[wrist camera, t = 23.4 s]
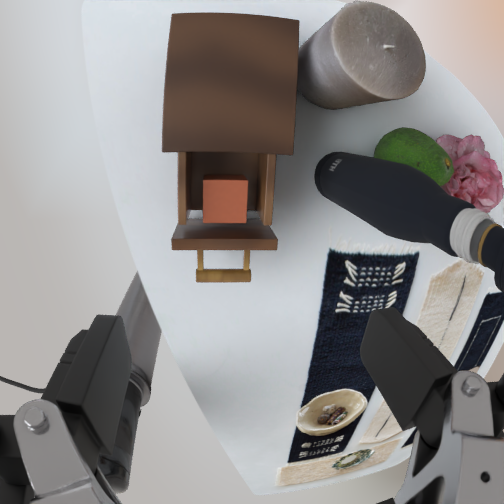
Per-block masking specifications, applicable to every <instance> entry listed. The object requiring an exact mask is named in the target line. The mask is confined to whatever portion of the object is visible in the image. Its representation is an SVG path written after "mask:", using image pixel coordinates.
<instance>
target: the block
mask: <svg viewBox="0 0 504 504" xmlns="http://www.w3.org/2000/svg"><path fill="white" fill-rule="evenodd" d="M247 198H248V180H247V179H246V177H245V176H244V175H205V176H204V179H203V223H246V221H247Z"/></svg>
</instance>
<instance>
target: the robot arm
mask: <svg viewBox="0 0 504 504" xmlns="http://www.w3.org/2000/svg"><path fill="white" fill-rule="evenodd" d="M360 356H361V360H362V362H363V364H364V366H365V367H366V369H367V371H368V372H369V374H370V376H371V377H372V379H373V381H374V382H375V384H376V386H377V387H378V389H379V391H380V393H381V394H382V396H383V398H384V399H385V401H386V403H387V404H388V406H389V408H390V410H391V411H392V413H393V415H394V416H395V418H396V420H397V422H398V423H399V425H400V427H401V429H402V430H403V431H405V430H407V429H410V428H413V427H417V429H418V431H417V433H416V434H415V437H414V441H413V447H412V451H411V456H410V461H409V465H408V469H407V473H406V477H405V480H404V483H403V485H402V487H401V489H400V490H399V492H398V493H397V495H396V496H395V498H394V499H393V498H390V499H388V500H385V501H382V502H380V503H377V504H504V432H503V431H502V430H503V429H504V374H503V375H502V377H501V379H500V380H499V382H488V383H487V382H486V381H485V380H484V379H483V378H482V377H481V376H480V375H478V374H476V373H474V372H471V371H459V372H458V371H457V370H456V369H455V368H454V367H453V365H452V364H451V363H450V362H449V361H448V360H447V359H446V357H445V356H444V355H443V354H442V353H441V352H440V351H439V350H438V348H437V347H436V346H433V343H432V342H431V341H430V340H429V338H428V339H427V336H426V335H425V334H424V333H423V332H422V331H421V330H420V329H419V328H418V327H417V326H415V325H414V324H412V323H410V322H409V321H407V320H406V319H405V318H404V317H403V316H402V315H401V314H400V313H399V312H398V310H397V309H395V308H385V309H375V310H373V311H372V312H371V314H370V317H369V320H368V324H367V327H366V330H365V334H364V337H363V340H362V343H361V347H360ZM131 368H132V360H131V353H130V349H129V345H128V341H127V336H126V332H125V327H124V323H123V319H122V317H121V316H113V315H97V316H96V317H95V319H94V321H93V323H92V324H91V326H90V328H89V330H81V331H80V332H79V333H78V334H77V335H76V336H74V337H73V338H72V339H71V341H70V342H69V344H68V346H67V348H66V350H65V353H64V354H63V355H62V357H61V359H60V363H58V365H57V367H56V369H55V371H54V373H53V375H52V377H51V379H50V381H49V383H48V385H47V387H46V388H45V389H38V388H33V387H29V386H27V385H24V384H21V383H18V382H15V381H12V380H9V379H6V378H3V377H1V376H0V380H1V381H3V382H6V383H8V384H11V385H14V386H17V387H20V388H23V389H26V390H29V391H32V392H36V393H43V395H42V397H41V399H38V400H32V401H29V402H27V403H25V404H24V405H23V406H21V408H19V410H18V411H17V413H16V415H0V504H122V503H121V501H120V500H119V499H118V497H117V496H116V494H115V493H123V492H125V491H126V490H127V489H128V486H129V479H130V471H131V464H132V456H133V450H134V443H135V436H136V430H137V424H138V418H139V416H140V413H141V410H140V407H141V403H142V399H143V391H142V389H141V387H140V386H139V384H138V383H137V382H136V381H134V380H133V379H132V378H130V374H131ZM34 497H35V498H34Z"/></svg>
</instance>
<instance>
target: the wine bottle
mask: <svg viewBox="0 0 504 504" xmlns="http://www.w3.org/2000/svg"><path fill="white" fill-rule="evenodd" d="M315 183H316V186H317V188H318V190H319V191H320V193H321V194H322V195H323V196H324V197H326V198H328V199H329V200H331V201H333V202H334V203H336V204H338V205H339V206H341V207H343V208H344V209H346V210H348V211H349V212H351V213H353V214H354V215H356V216H357V217H359V218H361V219H362V220H364V221H365V222H367V223H369V224H370V225H372V226H373V227H375V228H377V229H378V230H380V231H381V232H383V233H384V234H386V235H388V236H391V237H394V238H398V239H402V240H406V241H410V242H419V243H431V244H433V245H435V246H436V247H438V248H440V249H441V250H443V251H444V252H446V253H448V254H449V255H451V256H455V257H460V258H463V259H464V260H465V261H466V262H469V263H475V264H479V263H480V264H481V265H483V266H484V267H488V268H490V269H491V270H493V271H494V272H495V277H494V279H495V284H496V286H497V288H498V289H499V290H501V291H502V292H503V293H504V228H502V226H500V225H498V224H496V223H495V222H494V220H493V219H492V218H490V216H489V215H488V214H487V213H485V212H481V211H480V210H478V209H476V207H475V206H474V205H473V204H471V203H469V202H467V201H464V200H462V199H459V198H456V197H454V196H451V195H448V194H447V193H446V192H445V191H444V190H443V189H442V188H441V187H440V186H439V185H438V184H437V183H436V182H435V181H434V180H433V179H432V178H431V177H429V176H428V175H426V174H425V173H423V172H421V171H419V170H418V169H416V168H414V167H411V166H409V165H406V164H402V163H397V162H393V161H388V160H383V159H378V158H373V157H367V156H362V155H356V154H350V153H344V152H332V153H330V154H328V155H326V156H325V157H323V158H322V159H321V160H320V162H319V163H318V165H317V167H316V171H315Z"/></svg>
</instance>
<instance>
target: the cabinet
mask: <svg viewBox="0 0 504 504" xmlns="http://www.w3.org/2000/svg"><path fill="white" fill-rule="evenodd" d="M298 49H299V20H293V19H287V18H279V17H271V16H262V15H251V14H237V13H177V14H172V17H171V25H170V33H169V41H168V51H167V61H166V73H165V86H164V103H163V127H162V152H240V153H263V154H280V155H293V148H294V132H295V116H296V97H297V75H298Z"/></svg>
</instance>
